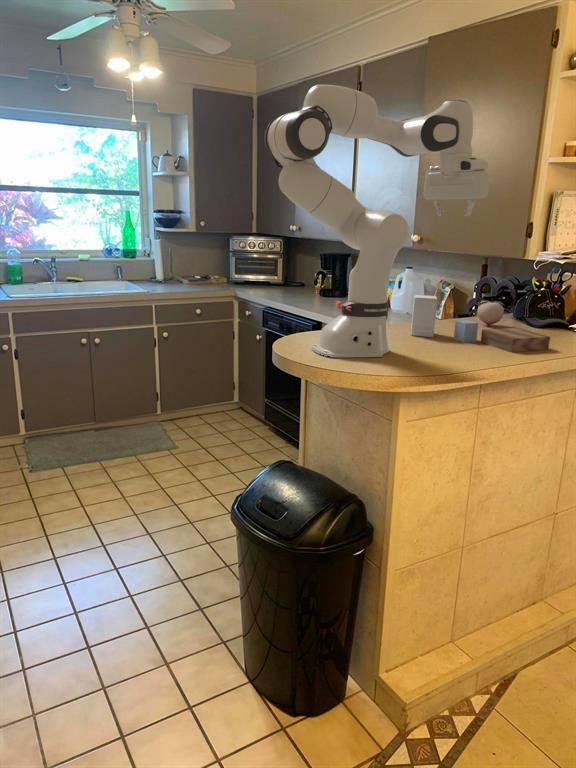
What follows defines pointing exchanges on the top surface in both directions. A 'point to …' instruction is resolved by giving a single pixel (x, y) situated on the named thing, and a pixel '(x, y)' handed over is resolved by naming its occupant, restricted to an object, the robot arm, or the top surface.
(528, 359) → the top surface
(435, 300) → the supplement box
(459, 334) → the slate block
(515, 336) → the walnut base
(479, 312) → the decorative fruit
